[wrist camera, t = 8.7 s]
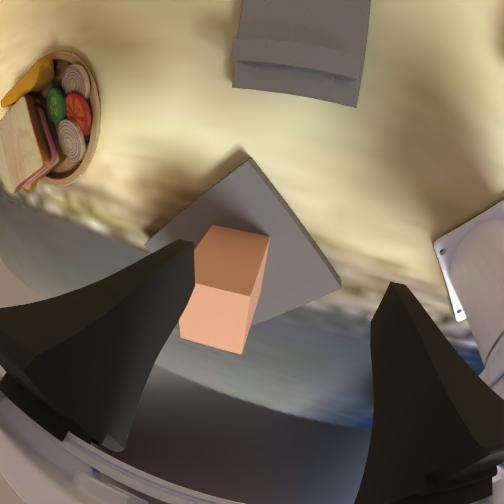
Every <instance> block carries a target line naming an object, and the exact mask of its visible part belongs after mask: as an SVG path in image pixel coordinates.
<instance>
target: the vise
mask: <svg viewBox="0 0 504 504" xmlns="http://www.w3.org/2000/svg"><path fill="white" fill-rule="evenodd" d="M370 3H371V0H243V3H242V10H241V17H240V25H239V32H238V38H233V44H232V52H231V60H233V61H235V66H234V75H233V84H232V88H244V89H254V90H263V91H271V92H279V93H286V94H292V95H298V96H304V97H309V98H315V99H320V100H325V101H329V102H334V103H338V104H342V105H347V106H351V107H355V108H356V107H357V101H358V95H359V89H360V83H361V77H362V71H363V64H364V57H365V49H366V42H367V33H368V24H369V14H370Z"/></svg>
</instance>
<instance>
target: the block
mask: <svg viewBox="0 0 504 504" xmlns="http://www.w3.org/2000/svg"><path fill="white" fill-rule="evenodd" d="M269 241H270V237H269V236H265V235H260V234H255V233H250V232H246V231H241V230H236V229H231V228H226V227H221V226H216V225H212V226H211V228H210V229H209V230H208V232H207V233H206V235H205V236H204V237H203V239H202V240H201V242H200V243H199V244H198V246H197V247H196V249H195V250H194V265H195V288H194V290H193V292H192V295H191V297H190V300H189V302H188V304H187V306H186V308H185V310H184V312H183V314H182V315H181V317H180V319H179V325H180V334H181V338H185V339H188V340H191V341H195V342H198V343H201V344H205V345H208V346H212V347H215V348H219V349H223V350H227V351H230V352H234V353H238V354H242V351H243V348H244V345H245V342H246V338H247V335H248V332H249V329H250V325H251V322H252V319H253V315H254V312H255V309H256V305H257V302H258V299H259V295H260V292H261V286H262V281H263V275H264V269H265V264H266V258H267V252H268V247H269Z"/></svg>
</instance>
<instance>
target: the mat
mask: <svg viewBox="0 0 504 504" xmlns="http://www.w3.org/2000/svg"><path fill="white" fill-rule="evenodd" d="M212 225H216V226H221V227H226V228H231V229H236V230H241V231H246V232H250V233H255V234H260V235H265V236H269V237H270V241H269V247H268V252H267V258H266V264H265V269H264V275H263V281H262V286H261V292H260V295H259V299H258V302H257V305H256V309H255V312H254V315H253V319H252V322H251V325H250V326H252V325H255V324H257V323H260V322H262V321H265V320H268V319H270V318H273V317H275V316H278V315H280V314H282V313H285V312H287V311H290V310H292V309H295V308H297V307H299V306H302V305H304V304H306V303H309V302H311V301H313V300H316V299H318V298H320V297H323V296H325V295H327V294H329V293H332V292H334V291H336V290H338V289H341V279H340V277H339V276H338V275H337V273H336V272H335V270H334V269H333V267H332V266H331V264H330V263H329V261H328V260H327V258H326V257H325V256H324V254H323V253H322V251H321V250H320V248H319V247H318V246H317V244H316V243H315V241H314V240H313V239H312V237H311V236H310V234H309V233H308V232H307V230H306V229H305V227H304V226H303V225H302V223H301V222H300V221H299V219H298V218H297V216H296V215H295V214H294V212H293V211H292V210H291V208H290V207H289V206H288V204H287V203H286V202H285V200H284V199H283V198H282V196H281V195H280V194H279V192H278V191H277V190H276V188H275V187H274V186H273V184H272V183H271V182H270V181H269V179H268V178H267V177H266V175H265V174H264V173H263V172H262V170H261V169H260V168H259V166H258V165H257V164H256V163H255V161H254V160H253V159H252V158H250V159H249V160H247V161H246V162H245V163H243V164H242V165H240V166H239V167H238V168H236V169H235V170H234V171H232V172H231V173H230V174H228V175H227V176H226V177H225V178H223V179H222V180H221V181H219V182H218V183H217V184H215V185H214V186H213V187H212V188H210V189H209V190H208V191H206V192H205V193H204V194H203V195H201V196H200V197H199V198H198V199H196V200H195V201H194V202H193V203H191V204H190V205H189V206H188V207H187V208H185V209H184V210H183V211H182V212H180V213H179V214H178V215H177V216H176V217H174V218H173V219H172V220H171V221H170V222H169V223H167V224H166V225H165V226H164V227H163V228H162V229H160V230H159V231H158V232H157V233H156V234H155V235H153V236H152V237H151V238H150V239H149V240H148V241H147V242H146V243H145V244H144V245H145V246H146V247H147V248H148V249H149V250H150V251H151V253H154V252H155V251H157V250H159V249H161V248H163V247H164V246H166V245H168V244H170V243H172V242H174V241H176V240H178V239H180V240H185V241H190V242H194V250H195V249H196V247H197V246H198V244H199V243H200V242H201V240H202V239H203V237H204V236H205V235H206V233H207V232H208V230H209V229H210V228H211V226H212Z"/></svg>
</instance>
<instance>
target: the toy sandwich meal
mask: <svg viewBox="0 0 504 504" xmlns="http://www.w3.org/2000/svg"><path fill="white" fill-rule="evenodd" d="M13 104H14V106H13V107H12V108H11V109H10V110H9V111H8V112H7V113H6V115H5V116H4V117H3V118H2V119H1V120H0V176H1V179H2V181H3V183H4V184H5V186H6V188H7V189H8V190H9V191H10V192H11V193H16V192H17V191H19V190H20V189H21V186H23V187H24V188H25V189H26V190H27V191H30V190H32V189H34V188H35V187H36V185H37V182H38V181H39V180H40V179H42V180H44V181H45V182H47V183H49V184H52V185H55V186H66V185H69V184H72V183H74V182H75V181H77V180H78V179H79V178H80V177H81V176H82V175H83V174H84V172H85V171H86V170H87V168H88V166H89V165H90V163H91V161H92V158H93V156H94V153H95V150H96V147H97V143H98V138H99V131H100V102H99V95H98V91H97V87H96V84H95V81H94V78H93V76H92V74H91V72H90V70H89V68H88V67H87V65H86V64H85V63H84V62H83V61H82V60H81V59H80V58H79V57H78V56H76V55H75V54H73V53H70V52H66V51H57V52H53V53H51V54H48V55H47V56H45V57H44V58H42V59H40V60H38V61H37V62H36V63H35V65H34V66H33V67H32V68H31V69H30V71H29V72H28V73H27V74H26V75H25V76H24V77H23V78H22V79H21V80H20V81H19V82H18V83H17V84H16V85H15V86H14V87H13V88H12V89H11V90H10V91H9V92H8V93H7V94H6V96H5V97H4V98H3V99H2V101H1V106H2V107H7V106H10V105H13Z"/></svg>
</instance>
